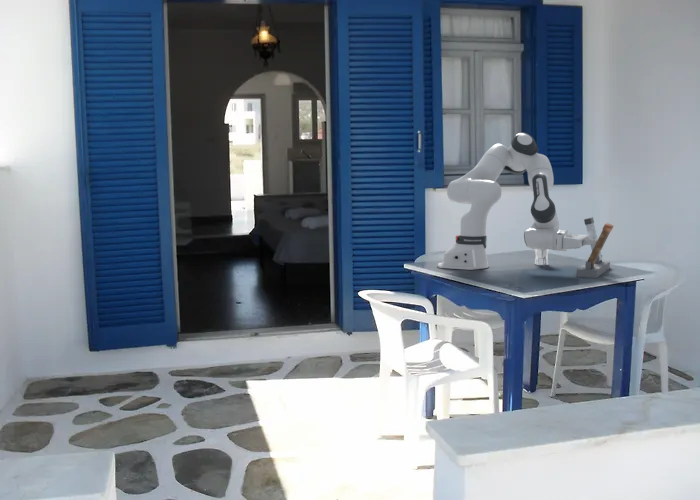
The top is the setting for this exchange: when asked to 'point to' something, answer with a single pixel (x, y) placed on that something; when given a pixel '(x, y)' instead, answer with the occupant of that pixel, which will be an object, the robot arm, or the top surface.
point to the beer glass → (541, 257)
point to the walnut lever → (600, 243)
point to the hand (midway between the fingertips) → (596, 242)
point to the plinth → (593, 269)
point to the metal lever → (592, 233)
